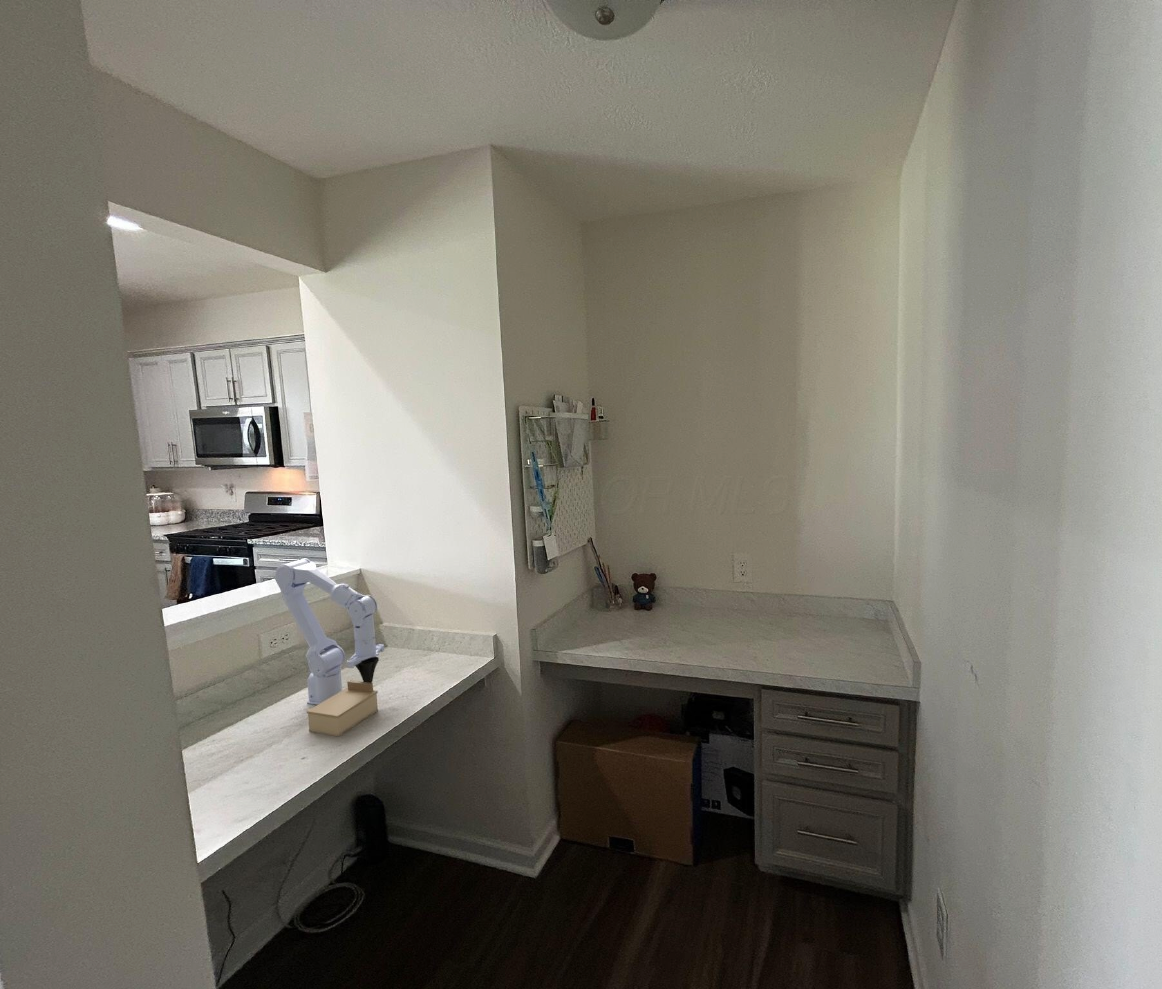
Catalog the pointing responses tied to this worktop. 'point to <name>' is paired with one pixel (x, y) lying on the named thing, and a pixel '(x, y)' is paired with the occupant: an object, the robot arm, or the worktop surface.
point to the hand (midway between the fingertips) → (368, 682)
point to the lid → (344, 700)
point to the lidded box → (343, 719)
